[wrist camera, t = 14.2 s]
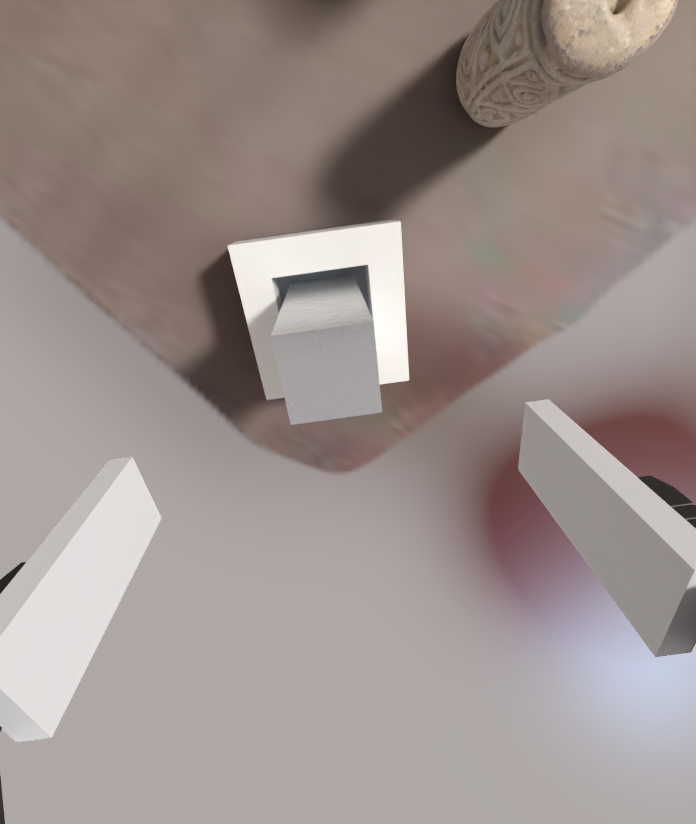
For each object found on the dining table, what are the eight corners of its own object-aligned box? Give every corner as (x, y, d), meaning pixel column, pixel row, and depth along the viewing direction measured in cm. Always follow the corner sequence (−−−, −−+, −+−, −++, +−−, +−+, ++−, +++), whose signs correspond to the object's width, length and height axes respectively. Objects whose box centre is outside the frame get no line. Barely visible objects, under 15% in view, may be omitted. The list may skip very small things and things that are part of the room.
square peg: (290, 282, 31) (270, 336, 19) (352, 274, 31) (373, 321, 19) (301, 342, 33) (290, 424, 21) (359, 334, 33) (382, 412, 21)
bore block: (238, 240, 30) (227, 245, 27) (391, 218, 30) (400, 221, 27) (271, 380, 36) (266, 400, 32) (400, 362, 36) (409, 380, 32)
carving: (570, 72, 27) (734, -13, 16) (477, 156, 29) (567, 131, 18) (527, -31, 24) (688, -210, 14) (428, 70, 26) (500, -18, 16)
